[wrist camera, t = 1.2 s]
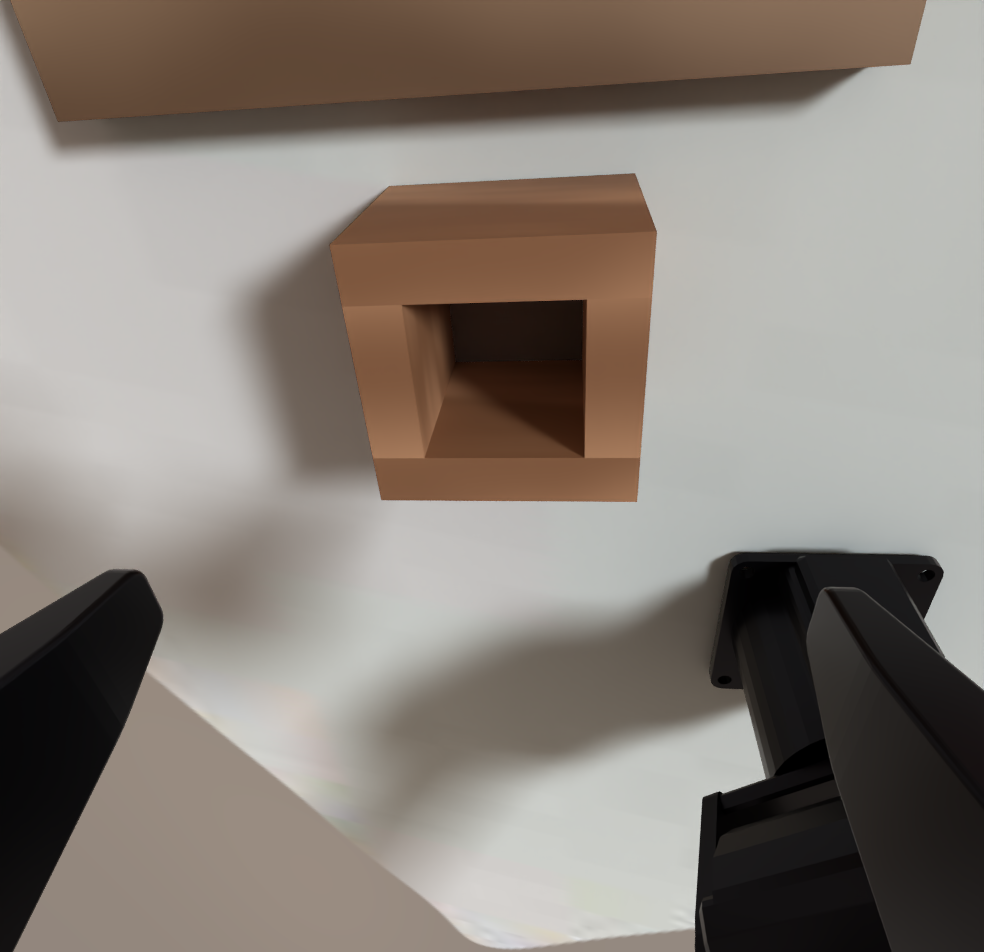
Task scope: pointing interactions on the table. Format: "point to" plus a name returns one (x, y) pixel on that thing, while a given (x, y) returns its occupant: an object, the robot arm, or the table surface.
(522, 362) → the bead
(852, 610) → the robot arm
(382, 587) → the table surface
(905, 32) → the wooden board with peg
